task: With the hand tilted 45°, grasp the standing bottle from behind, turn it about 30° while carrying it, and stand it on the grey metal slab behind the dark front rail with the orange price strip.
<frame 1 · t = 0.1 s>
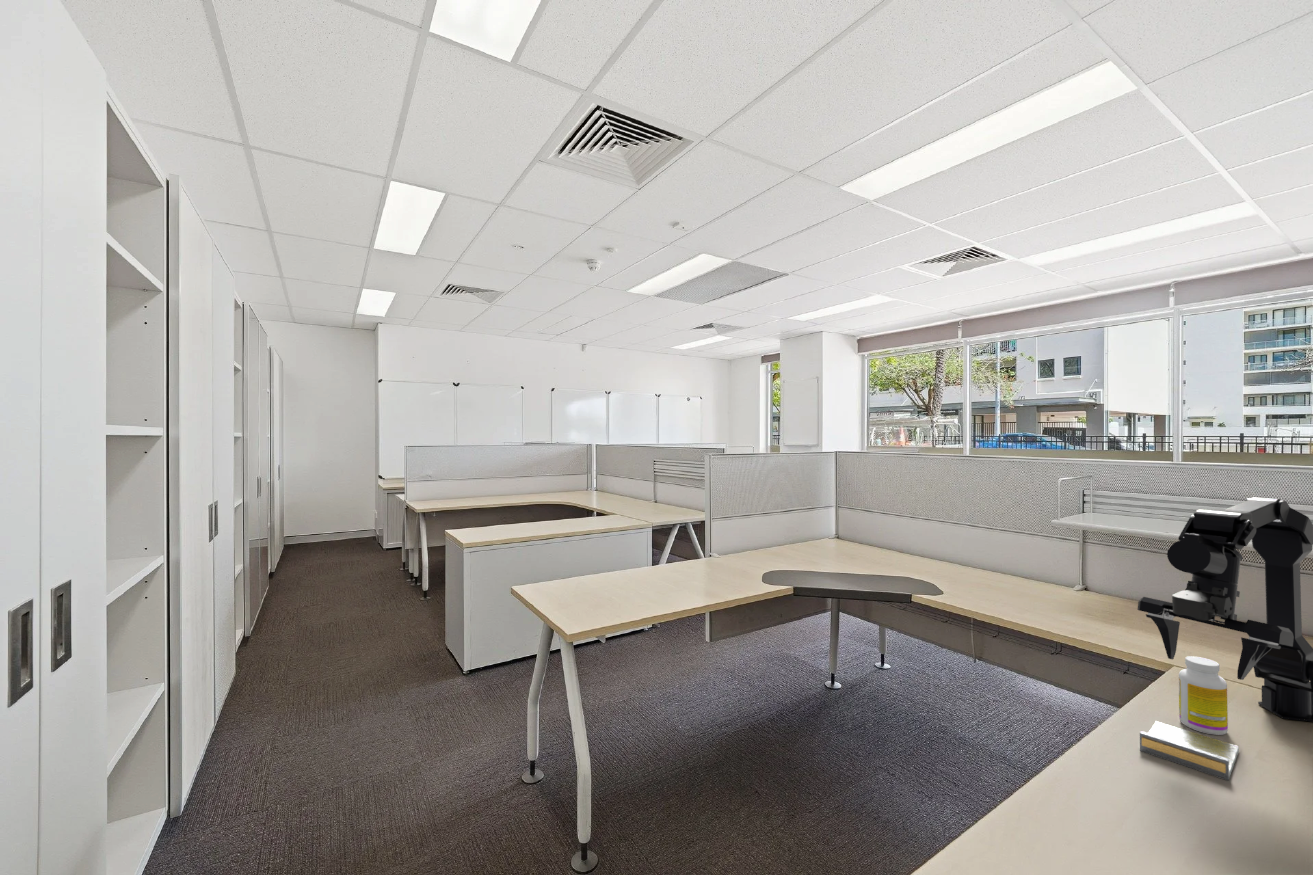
hand: (1203, 668, 95), 15 cm above the table, tool pointing down, fingers open, 9 cm apart
grey metal slab: (1189, 749, 97), on the table
supplement bottle: (1203, 728, 105), on the table
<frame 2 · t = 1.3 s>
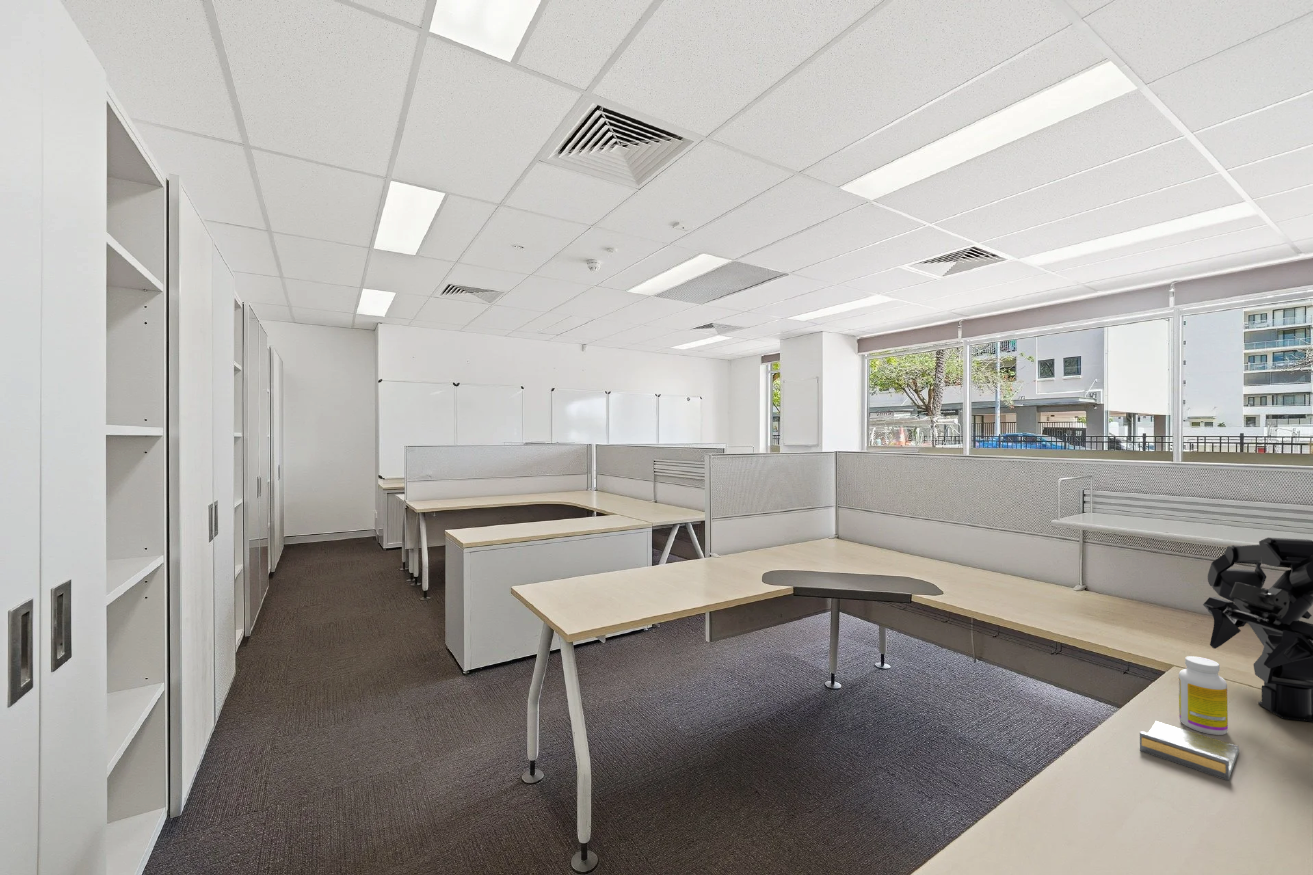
hand: (1238, 656, 106), 13 cm above the table, tool tilted 45°, fingers open, 9 cm apart
nothing on the table moved.
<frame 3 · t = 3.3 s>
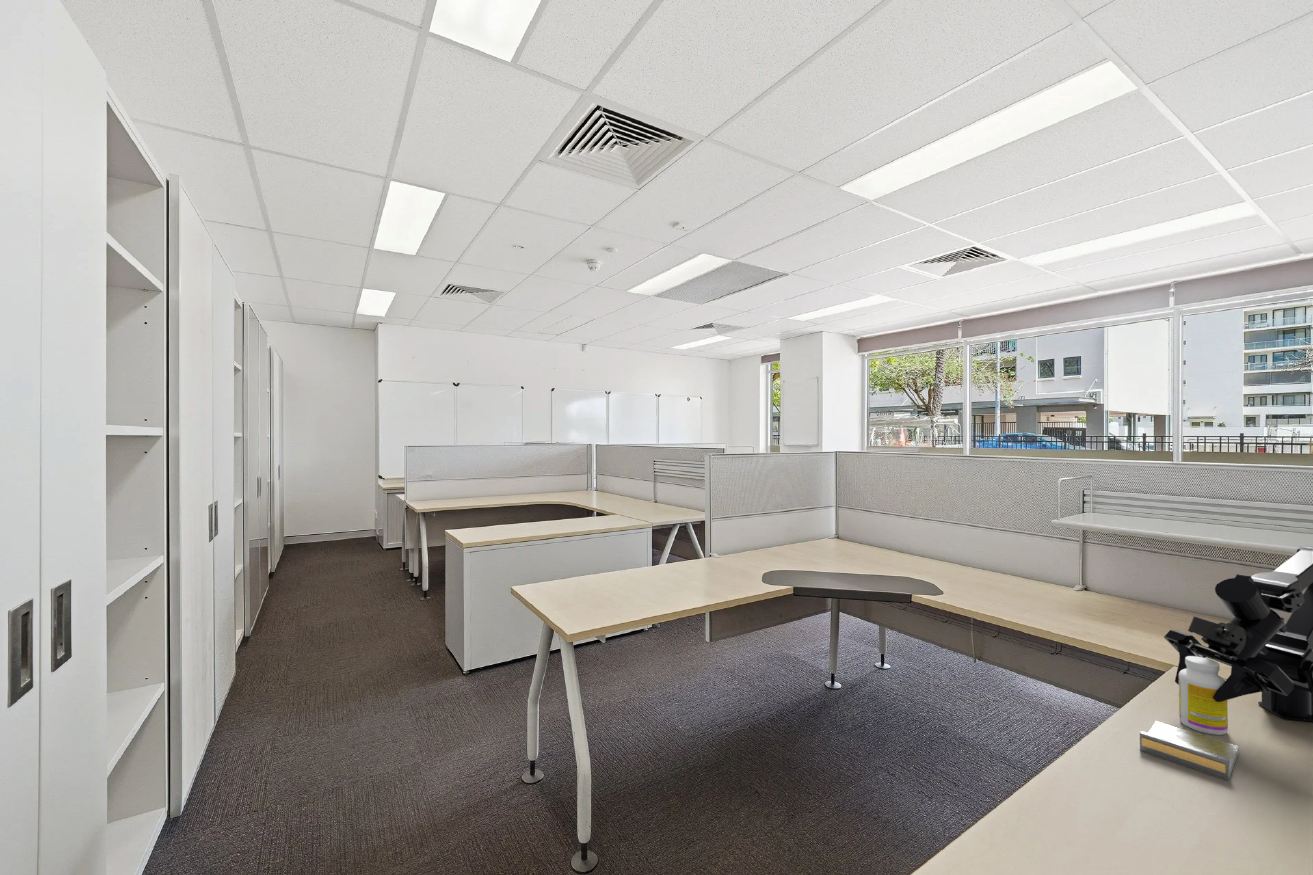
hand: (1195, 691, 105), 7 cm above the table, tool tilted 45°, fingers closed on supplement bottle, 7 cm apart
supplement bottle: (1203, 728, 105), on the table, touching gripper
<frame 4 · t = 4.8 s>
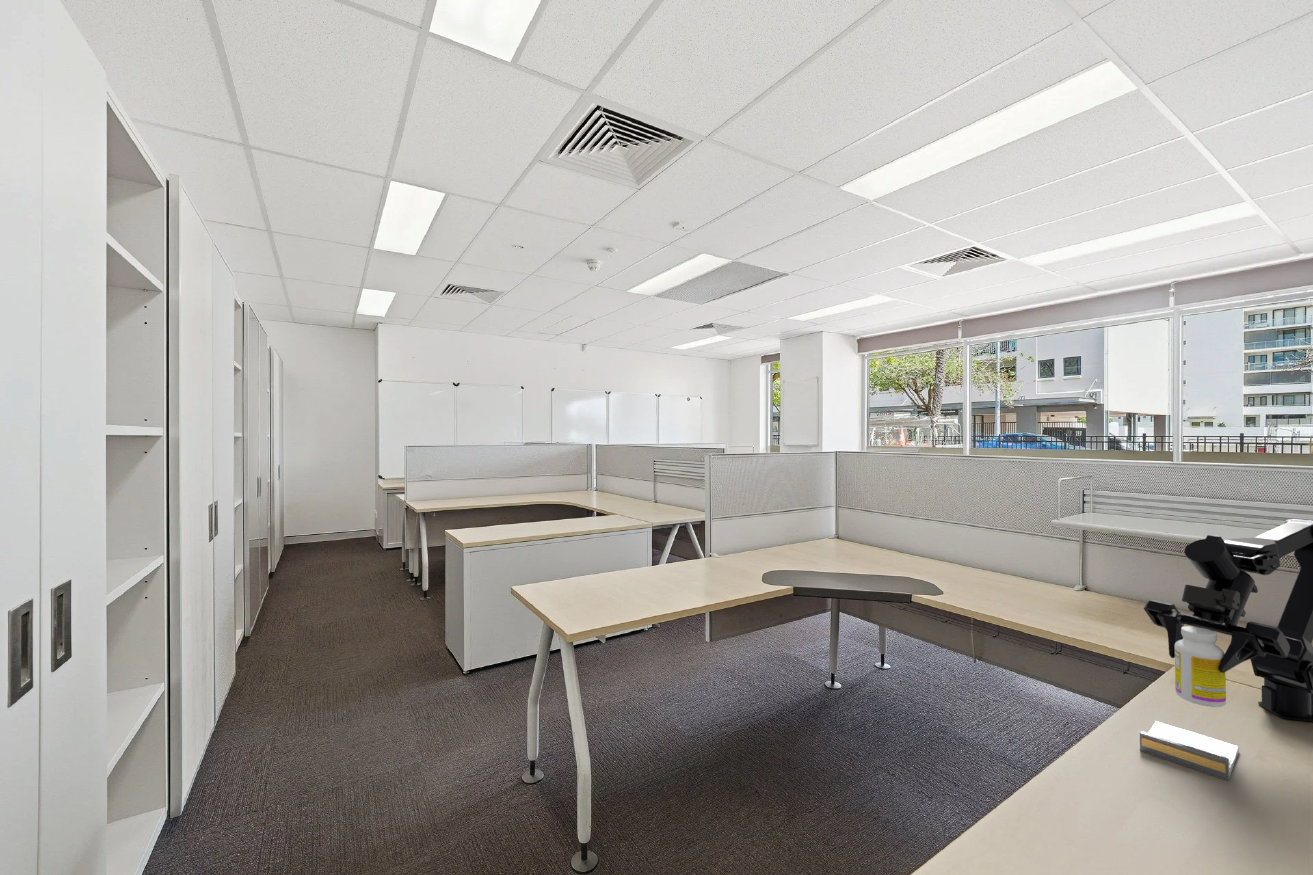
hand: (1195, 663, 100), 14 cm above the table, tool tilted 45°, fingers closed on supplement bottle, 7 cm apart
supplement bottle: (1200, 700, 100), point 7 cm above the table, touching gripper
when the fingers open (9 cm above the table, at t = 6.4 s): supplement bottle stays where it is, resting on grey metal slab.
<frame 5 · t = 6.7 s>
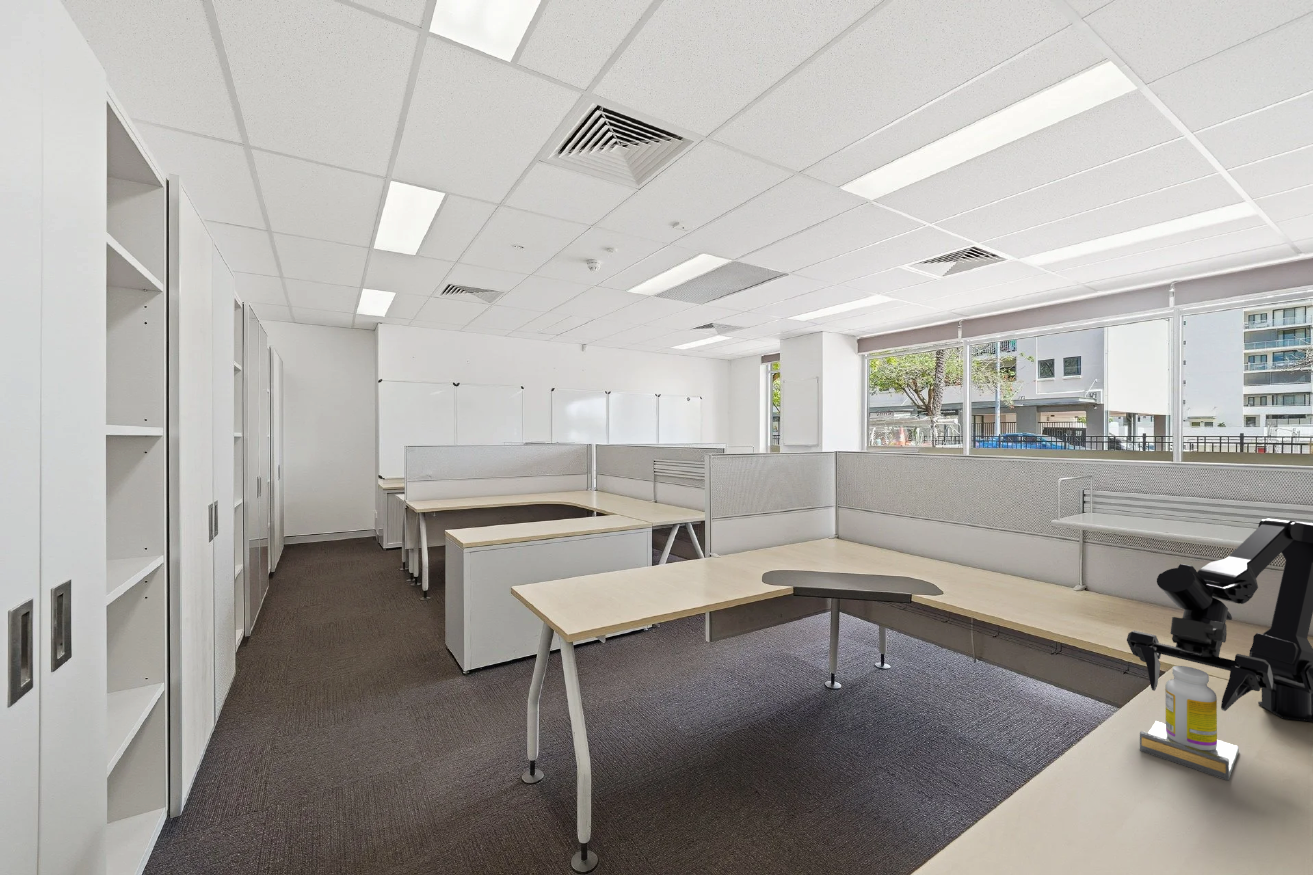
hand: (1186, 699, 98), 9 cm above the table, tool tilted 45°, fingers open, 9 cm apart
supplement bottle: (1190, 742, 98), point 1 cm above the table, touching grey metal slab
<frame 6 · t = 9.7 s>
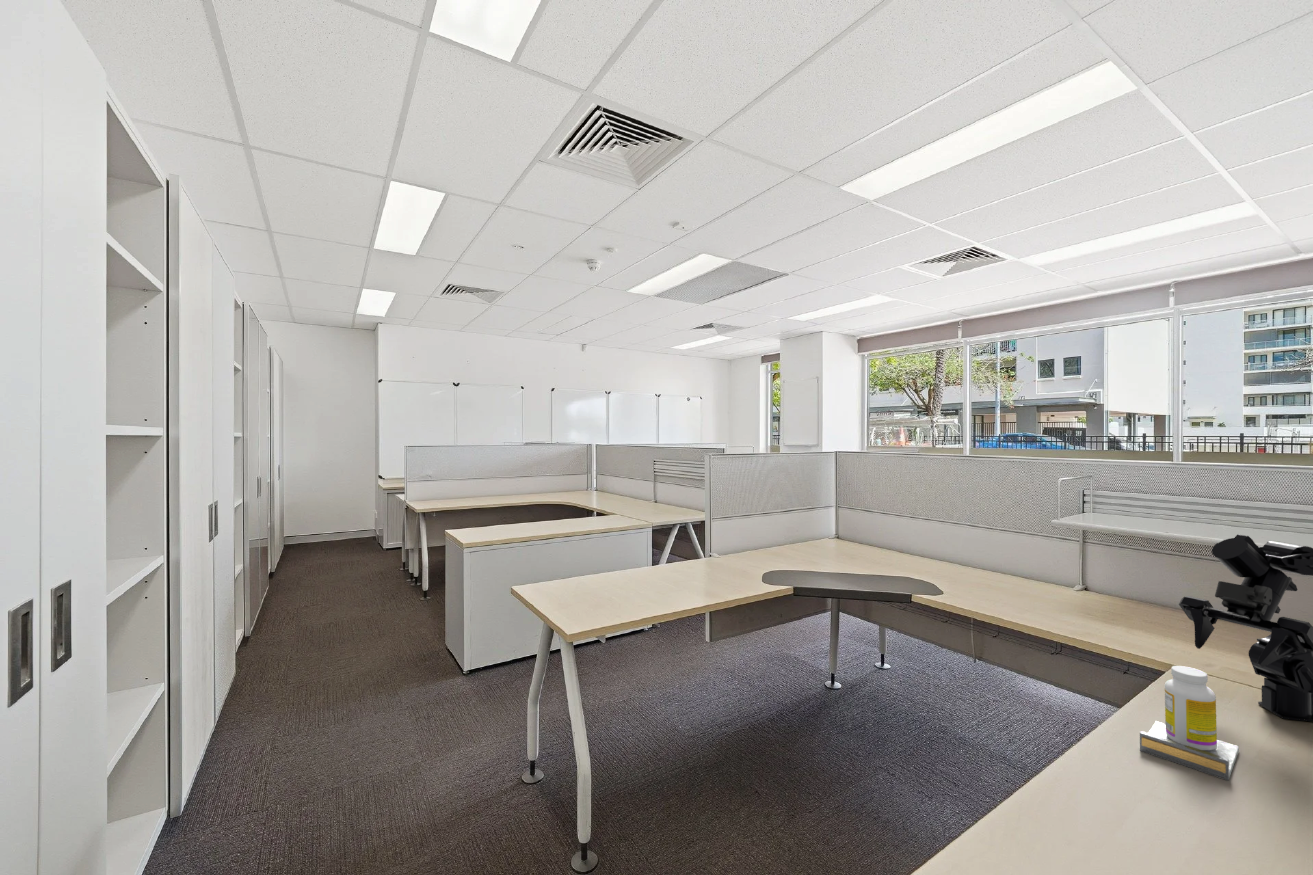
hand: (1227, 655, 105), 14 cm above the table, tool tilted 45°, fingers open, 9 cm apart
nothing on the table moved.
at the end: supplement bottle inside the target area on the grey metal slab (0.2 cm from its centre), point 0.8 cm above the grey metal slab's base; supplement bottle tilted 0°; the gripper is holding nothing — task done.
